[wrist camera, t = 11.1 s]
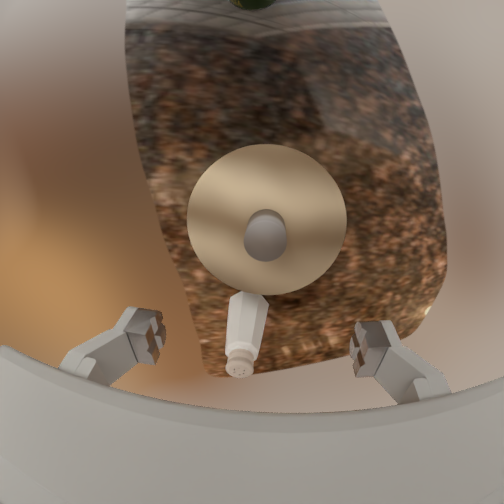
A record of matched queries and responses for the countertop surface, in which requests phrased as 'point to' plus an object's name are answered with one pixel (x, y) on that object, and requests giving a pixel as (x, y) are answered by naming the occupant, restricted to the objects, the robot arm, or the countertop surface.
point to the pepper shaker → (244, 332)
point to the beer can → (252, 4)
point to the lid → (266, 219)
